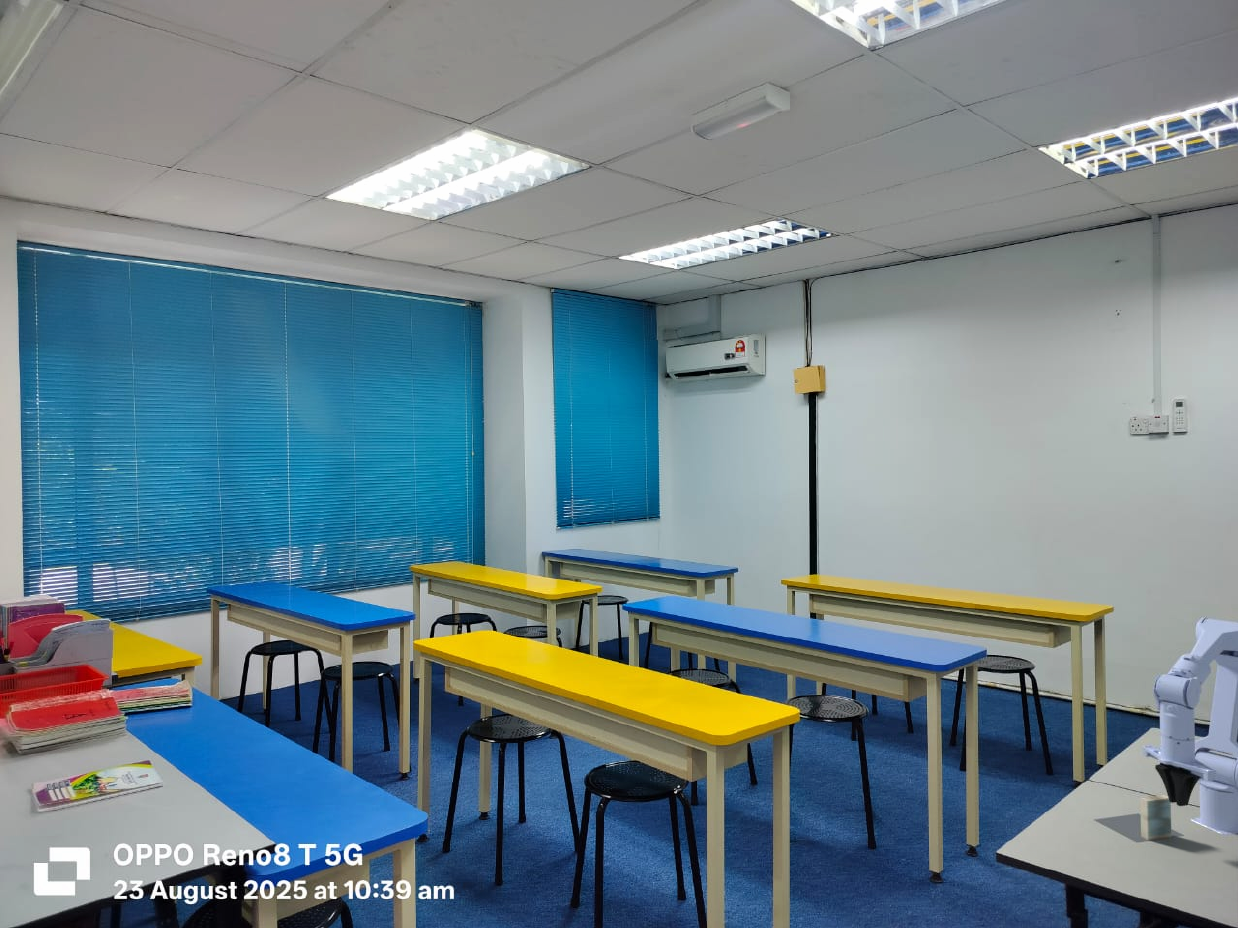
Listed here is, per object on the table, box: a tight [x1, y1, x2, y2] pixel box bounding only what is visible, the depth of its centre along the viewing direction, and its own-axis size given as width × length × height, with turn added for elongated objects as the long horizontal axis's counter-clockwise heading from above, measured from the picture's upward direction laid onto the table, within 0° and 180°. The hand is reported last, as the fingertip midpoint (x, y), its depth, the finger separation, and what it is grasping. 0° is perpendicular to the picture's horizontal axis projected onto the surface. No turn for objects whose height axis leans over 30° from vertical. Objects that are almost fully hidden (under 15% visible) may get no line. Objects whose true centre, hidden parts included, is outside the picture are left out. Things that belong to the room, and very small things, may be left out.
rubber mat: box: [1093, 813, 1185, 843], centre depth 170 cm, size 12×11×1 cm
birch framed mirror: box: [1139, 794, 1173, 841], centre depth 166 cm, size 6×2×8 cm, turn 103°
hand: (1178, 803), depth 161 cm, fingers closed
